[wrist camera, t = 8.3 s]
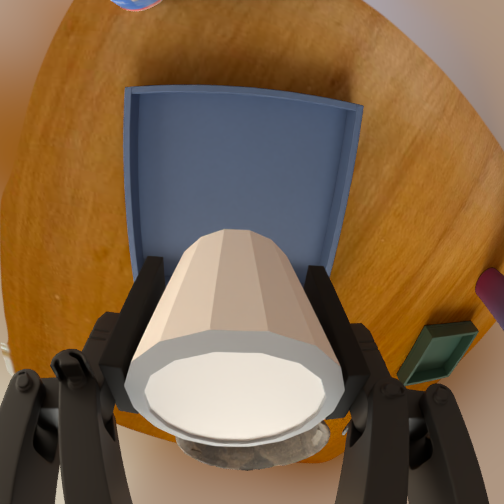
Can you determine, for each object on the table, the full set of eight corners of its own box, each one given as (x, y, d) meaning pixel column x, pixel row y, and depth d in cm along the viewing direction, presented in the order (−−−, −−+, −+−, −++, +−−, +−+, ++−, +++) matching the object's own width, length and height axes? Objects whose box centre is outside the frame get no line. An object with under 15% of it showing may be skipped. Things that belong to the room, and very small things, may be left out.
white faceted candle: (325, 235, 13) (388, 348, 7) (279, 341, 16) (296, 452, 10) (174, 199, 12) (118, 304, 6) (158, 319, 15) (129, 433, 9)
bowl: (220, 326, 34) (217, 395, 25) (345, 370, 40) (362, 425, 31) (164, 402, 42) (156, 453, 33) (269, 430, 48) (273, 475, 39)
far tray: (470, 320, 38) (479, 331, 35) (442, 366, 43) (448, 376, 40) (424, 325, 37) (432, 337, 34) (396, 374, 42) (401, 386, 40)
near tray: (351, 104, 23) (363, 105, 20) (317, 285, 32) (323, 300, 29) (136, 88, 21) (124, 87, 19) (142, 275, 30) (135, 290, 28)
